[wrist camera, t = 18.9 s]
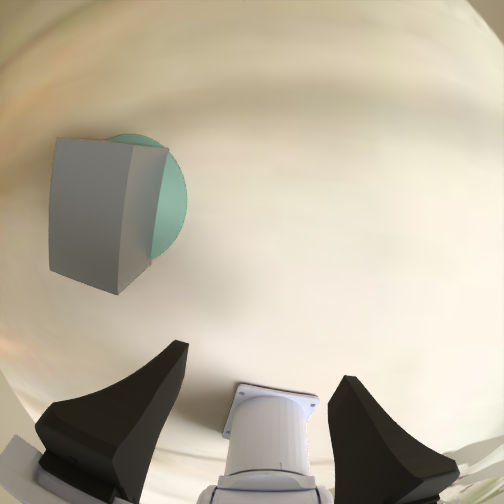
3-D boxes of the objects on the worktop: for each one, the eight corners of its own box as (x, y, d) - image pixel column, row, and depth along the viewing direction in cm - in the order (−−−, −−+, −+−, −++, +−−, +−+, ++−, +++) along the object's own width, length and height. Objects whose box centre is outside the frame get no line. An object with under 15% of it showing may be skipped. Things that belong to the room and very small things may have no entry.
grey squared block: (150, 264, 21) (117, 295, 16) (90, 246, 21) (49, 269, 16) (169, 149, 18) (133, 145, 13) (102, 139, 18) (57, 137, 13)
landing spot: (175, 276, 21) (174, 277, 21) (73, 245, 21) (72, 246, 21) (200, 144, 18) (199, 144, 18) (86, 129, 18) (84, 129, 18)
